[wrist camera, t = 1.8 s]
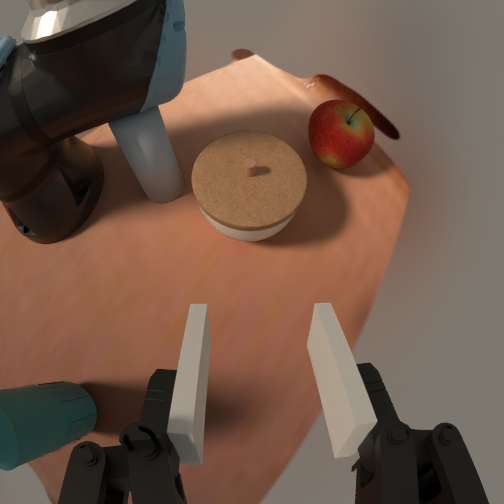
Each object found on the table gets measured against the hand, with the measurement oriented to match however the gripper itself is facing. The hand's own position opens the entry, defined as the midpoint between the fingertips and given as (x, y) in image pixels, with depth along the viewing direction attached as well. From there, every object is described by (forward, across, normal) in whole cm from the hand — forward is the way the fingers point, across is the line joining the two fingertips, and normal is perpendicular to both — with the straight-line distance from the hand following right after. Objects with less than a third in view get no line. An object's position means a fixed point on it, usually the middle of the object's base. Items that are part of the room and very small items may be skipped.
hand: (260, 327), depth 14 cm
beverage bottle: (+5, -19, -18) cm, 27 cm away
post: (+24, -10, +1) cm, 26 cm away
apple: (+28, +11, +4) cm, 30 cm away
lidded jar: (+22, 0, -2) cm, 22 cm away
